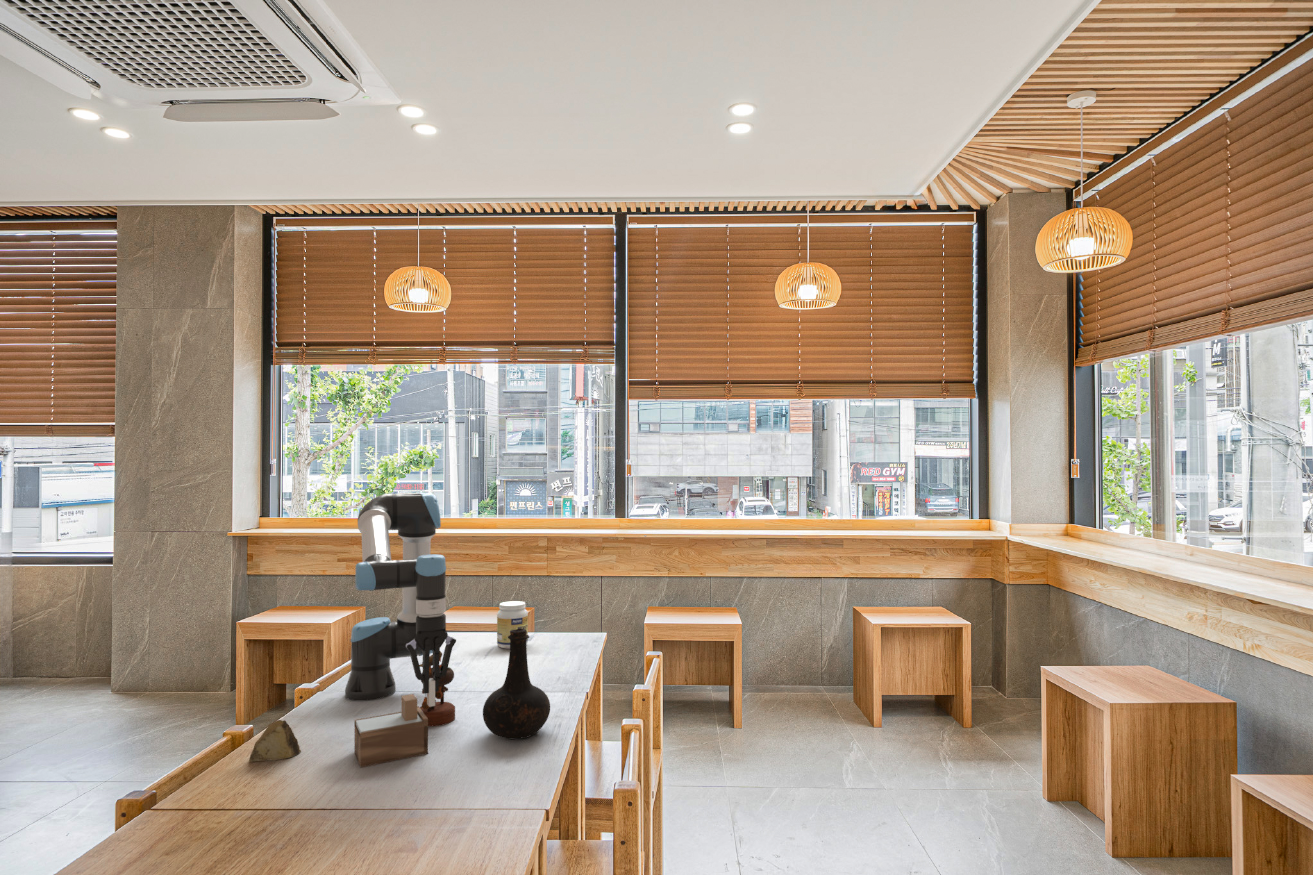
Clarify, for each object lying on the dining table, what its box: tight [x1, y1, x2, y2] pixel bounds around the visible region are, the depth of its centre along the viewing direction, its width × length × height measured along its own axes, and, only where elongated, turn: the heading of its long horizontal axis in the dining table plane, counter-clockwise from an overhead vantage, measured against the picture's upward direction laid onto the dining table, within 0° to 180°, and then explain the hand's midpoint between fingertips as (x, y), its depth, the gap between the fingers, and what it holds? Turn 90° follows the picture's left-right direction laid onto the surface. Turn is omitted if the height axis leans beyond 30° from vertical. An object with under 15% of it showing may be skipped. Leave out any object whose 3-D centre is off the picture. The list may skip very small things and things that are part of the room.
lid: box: [356, 693, 422, 733], centre depth 186 cm, size 9×15×6 cm, turn 120°
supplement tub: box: [496, 600, 529, 650], centre depth 294 cm, size 12×12×17 cm
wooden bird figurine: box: [419, 650, 456, 727], centre depth 211 cm, size 15×11×20 cm
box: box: [353, 705, 429, 768], centre depth 186 cm, size 11×16×9 cm
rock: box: [248, 719, 302, 763], centre depth 184 cm, size 11×9×10 cm
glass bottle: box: [482, 629, 551, 740], centre depth 199 cm, size 18×18×28 cm
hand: (431, 704), depth 191 cm, fingers closed
